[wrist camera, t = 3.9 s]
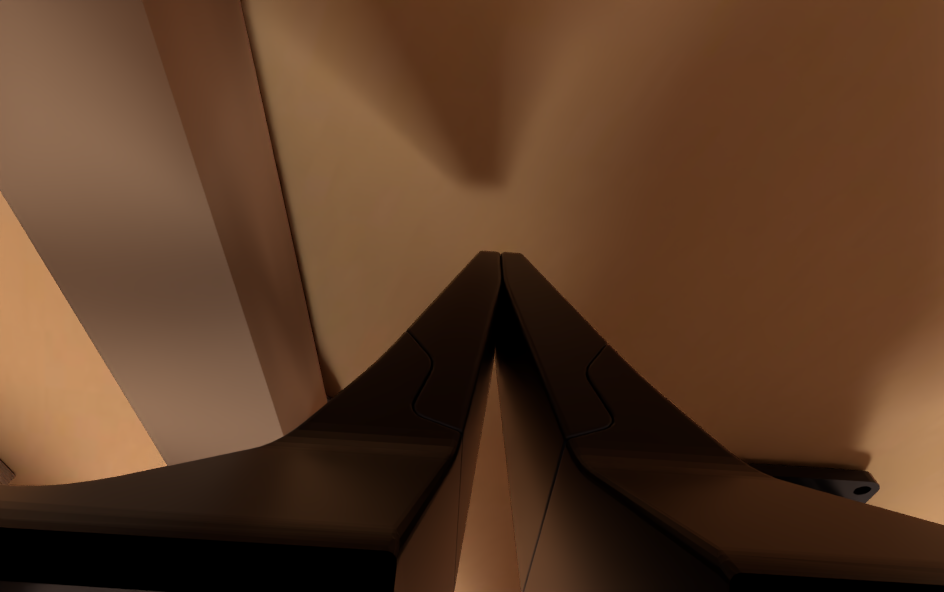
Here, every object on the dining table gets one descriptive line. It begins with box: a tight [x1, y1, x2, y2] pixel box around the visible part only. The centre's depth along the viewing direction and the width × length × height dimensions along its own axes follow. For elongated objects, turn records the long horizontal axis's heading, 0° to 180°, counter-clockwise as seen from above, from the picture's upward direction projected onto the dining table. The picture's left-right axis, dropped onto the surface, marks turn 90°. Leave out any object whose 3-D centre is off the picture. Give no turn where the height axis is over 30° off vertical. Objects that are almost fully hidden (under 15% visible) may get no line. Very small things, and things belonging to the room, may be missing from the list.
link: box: [0, 0, 327, 466], centre depth 10 cm, size 15×4×2 cm, turn 177°
